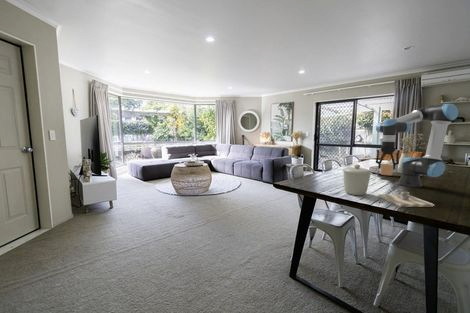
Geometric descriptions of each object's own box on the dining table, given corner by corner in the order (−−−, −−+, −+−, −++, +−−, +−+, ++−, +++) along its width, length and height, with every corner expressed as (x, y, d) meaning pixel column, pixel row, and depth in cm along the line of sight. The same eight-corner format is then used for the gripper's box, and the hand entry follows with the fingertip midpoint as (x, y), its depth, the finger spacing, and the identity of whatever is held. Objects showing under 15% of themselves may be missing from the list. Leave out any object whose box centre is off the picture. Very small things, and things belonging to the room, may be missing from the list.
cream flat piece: (407, 196, 150) (408, 188, 149) (434, 206, 130) (435, 196, 129) (378, 196, 150) (379, 187, 149) (400, 206, 130) (400, 196, 129)
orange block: (380, 172, 162) (381, 162, 161) (390, 173, 159) (391, 163, 158) (381, 174, 155) (382, 164, 154) (391, 175, 152) (392, 165, 151)
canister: (376, 197, 148) (378, 166, 146) (349, 197, 148) (351, 166, 145) (360, 190, 166) (362, 162, 164) (336, 190, 166) (338, 162, 163)
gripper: (372, 141, 156) (370, 173, 159) (406, 141, 146) (403, 175, 149) (372, 140, 162) (370, 171, 165) (404, 141, 153) (401, 173, 156)
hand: (386, 173), depth 157 cm, fingers closed on orange block, 6 cm apart
